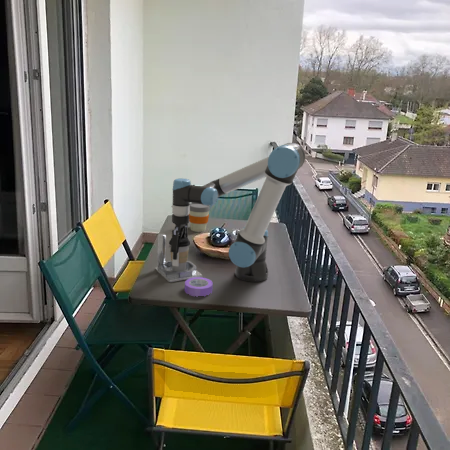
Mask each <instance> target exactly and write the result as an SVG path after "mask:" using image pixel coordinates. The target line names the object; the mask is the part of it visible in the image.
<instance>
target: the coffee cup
mask: <svg viewBox="0 0 450 450" xmlns="http://www.w3.org/2000/svg"><path fill="white" fill-rule="evenodd" d="M171 243H172V237H171V238H170V240H169V241H168V244H169V247H170V248H169V250H170V261H172V259H173V252H171ZM190 244H191V241H190V240H189V237H188V238H186V237H185V238H184V237H182V238H181V239H180V243H179V250H178V252H179V266H172V271H177V272H182V271H185V269H186V263H187V261H188V257H189V250H190V249H189V248H190Z"/></svg>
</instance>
